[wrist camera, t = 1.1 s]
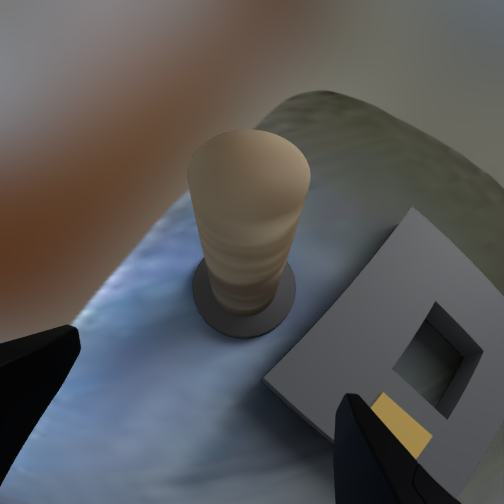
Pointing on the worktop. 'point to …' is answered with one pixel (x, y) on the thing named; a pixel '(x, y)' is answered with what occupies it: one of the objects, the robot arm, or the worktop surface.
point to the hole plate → (394, 344)
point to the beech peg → (247, 213)
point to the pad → (243, 324)
